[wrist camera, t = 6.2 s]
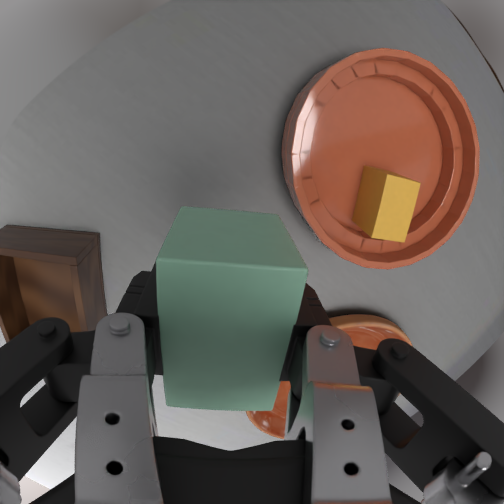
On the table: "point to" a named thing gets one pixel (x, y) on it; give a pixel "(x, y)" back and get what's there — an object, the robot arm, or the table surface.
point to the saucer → (362, 334)
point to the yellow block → (385, 204)
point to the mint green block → (226, 308)
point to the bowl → (380, 151)
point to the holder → (49, 278)
